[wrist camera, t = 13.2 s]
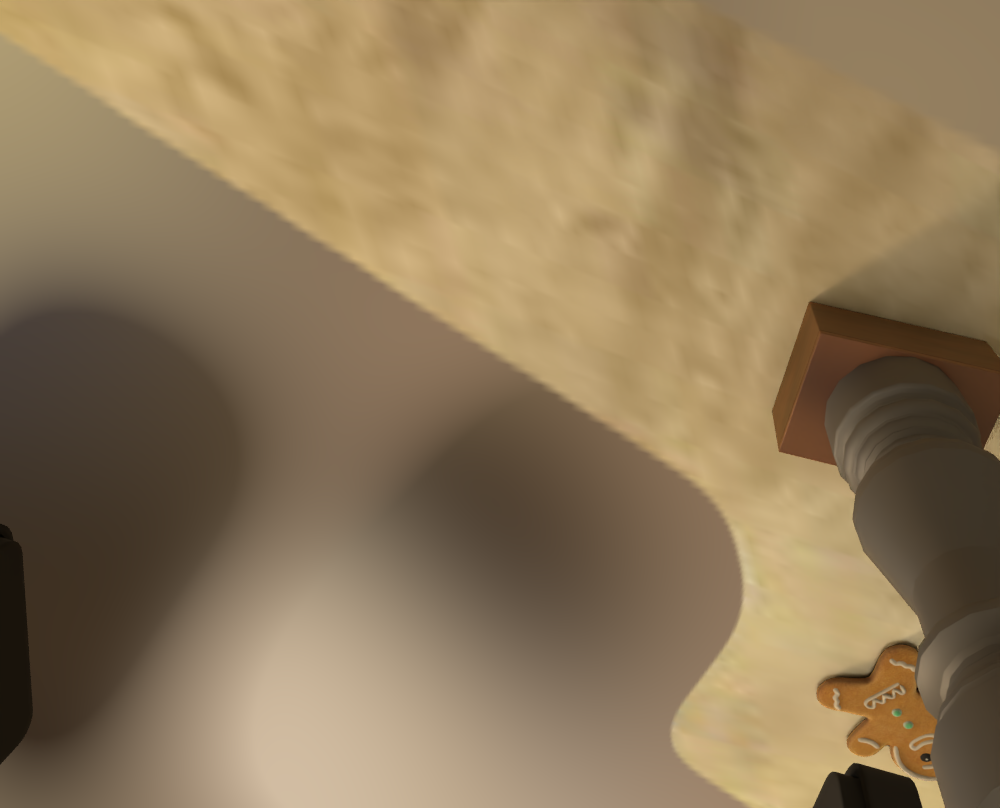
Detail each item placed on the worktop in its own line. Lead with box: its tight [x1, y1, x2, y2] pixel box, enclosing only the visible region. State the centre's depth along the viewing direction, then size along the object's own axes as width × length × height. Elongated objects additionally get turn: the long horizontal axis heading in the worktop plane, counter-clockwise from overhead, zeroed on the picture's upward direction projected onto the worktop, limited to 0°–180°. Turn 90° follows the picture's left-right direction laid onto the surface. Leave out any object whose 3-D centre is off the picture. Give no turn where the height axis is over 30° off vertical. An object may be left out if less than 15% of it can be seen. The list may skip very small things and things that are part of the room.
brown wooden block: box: [772, 302, 1000, 466], centre depth 46 cm, size 6×9×5 cm
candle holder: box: [824, 356, 1000, 808], centre depth 33 cm, size 6×6×25 cm
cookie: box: [817, 644, 937, 781], centre depth 56 cm, size 8×1×10 cm
